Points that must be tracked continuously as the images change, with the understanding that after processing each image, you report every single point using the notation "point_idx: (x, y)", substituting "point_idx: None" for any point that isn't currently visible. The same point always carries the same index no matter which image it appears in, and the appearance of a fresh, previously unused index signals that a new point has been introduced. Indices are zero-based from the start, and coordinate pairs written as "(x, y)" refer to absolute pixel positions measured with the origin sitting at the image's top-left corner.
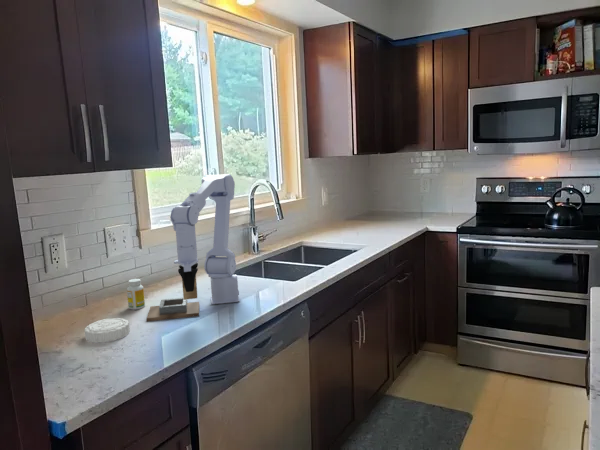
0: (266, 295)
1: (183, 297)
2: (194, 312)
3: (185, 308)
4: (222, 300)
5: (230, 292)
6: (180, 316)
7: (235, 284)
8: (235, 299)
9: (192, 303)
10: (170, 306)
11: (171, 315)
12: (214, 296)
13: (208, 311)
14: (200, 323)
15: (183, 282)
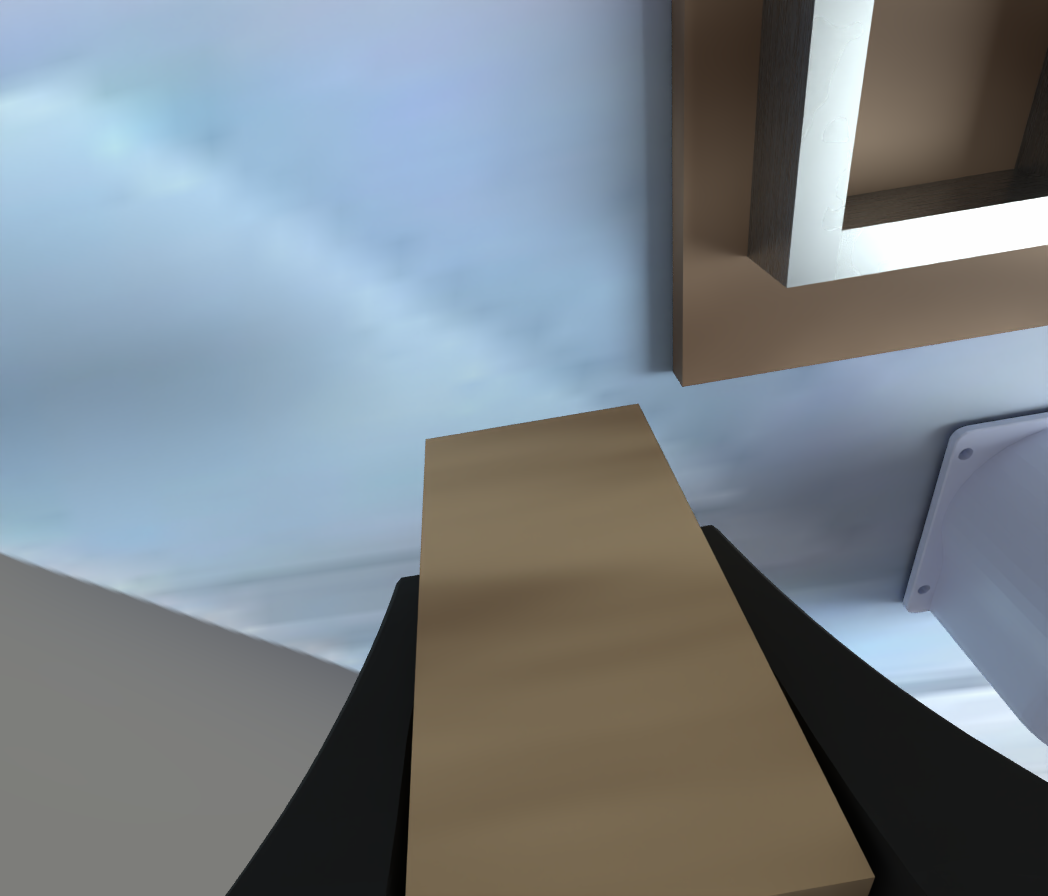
0: (949, 720)
1: (425, 459)
2: (712, 340)
3: (767, 259)
4: (951, 524)
5: (990, 622)
6: (676, 189)
7: (1028, 715)
8: (937, 597)
9: (1042, 261)
10: (808, 57)
11: (697, 71)
12: (1031, 486)
13: (774, 429)
14: (460, 418)
15: (424, 697)
